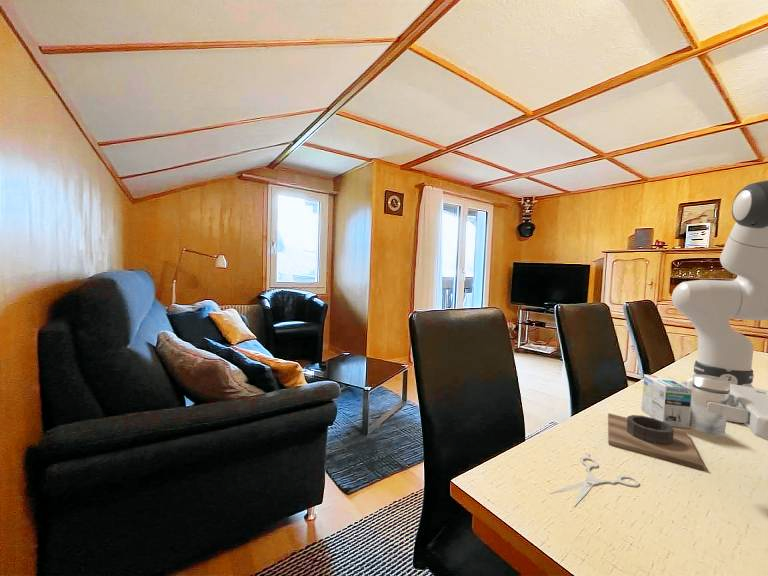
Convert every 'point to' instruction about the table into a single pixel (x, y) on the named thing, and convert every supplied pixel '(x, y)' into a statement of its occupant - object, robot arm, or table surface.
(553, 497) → the table surface
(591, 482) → the scissors
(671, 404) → the light bulb box
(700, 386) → the cylinder
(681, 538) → the table surface
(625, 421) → the ring collar board
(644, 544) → the table surface
